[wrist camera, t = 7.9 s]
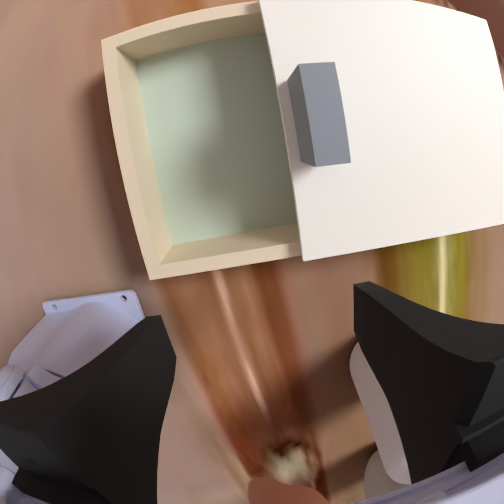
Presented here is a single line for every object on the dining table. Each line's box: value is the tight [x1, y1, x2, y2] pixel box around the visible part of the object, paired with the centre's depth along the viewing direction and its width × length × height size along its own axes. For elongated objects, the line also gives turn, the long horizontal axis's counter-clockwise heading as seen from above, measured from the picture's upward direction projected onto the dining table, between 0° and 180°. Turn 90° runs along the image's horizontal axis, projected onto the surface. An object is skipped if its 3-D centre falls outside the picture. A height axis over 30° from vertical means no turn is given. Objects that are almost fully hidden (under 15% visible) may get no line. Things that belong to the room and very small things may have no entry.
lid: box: [258, 0, 504, 261], centre depth 12 cm, size 15×14×4 cm
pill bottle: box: [349, 342, 411, 484], centre depth 17 cm, size 8×8×15 cm
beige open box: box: [101, 1, 301, 280], centre depth 16 cm, size 15×14×4 cm
